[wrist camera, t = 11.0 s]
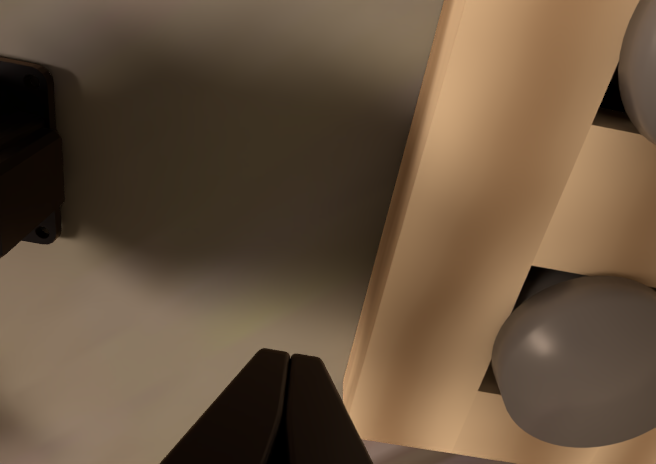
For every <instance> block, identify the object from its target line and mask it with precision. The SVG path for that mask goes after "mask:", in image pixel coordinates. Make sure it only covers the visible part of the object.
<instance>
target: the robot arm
mask: <svg viewBox="0 0 656 464" xmlns="http://www.w3.org/2000/svg"><path fill="white" fill-rule="evenodd" d="M30 74H32V75H34V76H36V78H37V79H38V80H39V83H40V85H39V88H38V87H36V86H34V85H33V84H32V83H31V80H30ZM64 201H65V195H64V174H63V153H62V138H61V136H60V135H59V133H58V132H57V131H56V121H55V102H54V83H53V79H52V76H51V74H50V73H49V71H48V70H47V69H46V68H44V67H43V66H41V65H38V64H34V63H29V62H24V61H18V60H13V59H8V58H3V57H0V258H1V257H3V256H4V255H5V254H7V253H8V252H9V251H10V250H11V249H12V248H13V247H14V246H16V245H17V244H18V243H19V242H20V241H27V242H33V243H39V244H50V243H53V242H54V241H55V240H56V239H57V238H58V237H59V235H60V234H61V215H60V205H62V204H63V203H64ZM41 226H42V227H45V228H46V229H47V230H48V231H49V234H48V233H45V232H44V231H43V230H42V229H41ZM160 464H373V462H372V460H371V458H370V456H369V454H368V452H367V450H366V448H365V446H364V444H363V442H362V440H361V438H360V436H359V434H358V432H357V430H356V428H355V426H354V424H353V422H352V420H351V418H350V416H349V414H348V412H347V410H346V407H345V405H344V403H343V401H342V399H341V397H340V395H339V393H338V391H337V389H336V387H335V385H334V383H333V381H332V379H331V377H330V375H329V373H328V371H327V369H326V367H325V365H324V363H323V361H322V360H321V359H320V358H318V357H315V356H309V355H303V354H293V355H292V356H291V358H290V355H289V353H287V352H285V351H279V350H273V349H267V348H263V349H260V350H259V351H258V352H257V353H256V354H255V355H254V356H253V358H252V359H251V360H250V361H249V362H248V363H247V364H246V366H245V367H244V368H243V369H242V370H241V371H240V372H239V374H238V375H237V376H236V377H235V378H234V379H233V380H232V381H231V383H230V384H229V385H228V386H227V387H226V388H225V389H224V391H223V392H222V393H221V394H220V395H219V396H218V397H217V399H216V400H215V401H214V402H213V403H212V404H211V405H210V407H209V408H208V409H207V410H206V411H205V412H204V413H203V415H202V416H201V417H200V418H199V419H198V420H197V421H196V423H195V424H194V425H193V426H192V427H191V428H190V429H189V431H188V432H187V433H186V434H185V435H184V436H183V437H182V439H181V440H180V441H179V442H178V443H177V444H176V445H175V447H174V448H173V449H172V450H171V451H170V452H169V453H168V455H167V456H166V457H165V458H164V459H163V460H162V461H161V463H160Z"/></svg>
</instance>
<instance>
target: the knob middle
mask: <svg viewBox="0 0 656 464" xmlns="http://www.w3.org/2000/svg"><path fill="white" fill-rule="evenodd" d="M611 82H612V83H613V84H614V85H615V86H616V87H617V88H618V89H619V90H620V95H621V99H622V102H623V105H624V108H625V111H626V113H627V115H628V117H629V118H630V120H631V122H632V124H633V125H634V126H635V127H636V129H637V130H638V131H639V132H640V133H641V134H642V135H643V136H644V137H645V138H646V139H647V140H648V141H650V142H651V143H653V144H654V145H656V0H640V1H639V3H638V4H637V6H636V8H635V10H634V12H633V14H632V17H631V19H630V21H629V23H628V26H627V29H626V32H625V35H624V38H623V42H622V46H621V50H620V56H619V62H618V64H617V66H616V69H615V71H614V73H613V76H612V78H611Z"/></svg>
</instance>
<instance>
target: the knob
mask: <svg viewBox="0 0 656 464" xmlns="http://www.w3.org/2000/svg"><path fill="white" fill-rule="evenodd" d="M492 368H493V373H494V376H495V379H496V382H497V384H498V387H499V390H500V393H501V396H502V399H503V402H504V404H505V407H506V410H507V412H508V413H509V415H510V417H511V418H512V420H513V421H514V422H515V423H516V424H517V425H518V426H519V427H520V428H521V429H522V430H524V431H525V432H526V433H528V434H530V435H531V436H533V437H535V438H537V439H539V440H541V441H544V442H547V443H550V444H554V445H559V446H564V447H573V448H591V447H601V446H607V445H612V444H616V443H620V442H624V441H627V440H630V439H633V438H635V437H638V436H640V435H642V434H644V433H646V432H648V431H650V430H652V429H654V428H656V291H654V290H653V289H651V288H650V287H648V286H646V285H644V284H642V283H640V282H637V281H634V280H631V279H627V278H623V277H616V276H587V275H582V274H576V273H571V272H565V271H560V270H554V269H548V268H543V267H537V266H532V265H531V268H530V270H529V272H528V275H527V277H526V279H525V282H524V284H523V286H522V289H521V291H520V293H519V296H518V298H517V300H516V303H515V305H514V307H513V310H512V312H511V314H510V316H509V317H508V318H507V319H506V321H505V322H504V324H503V325H502V327H501V328H500V330H499V332H498V334H497V336H496V339H495V342H494V345H493V350H492Z"/></svg>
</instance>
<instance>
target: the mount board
mask: <svg viewBox="0 0 656 464" xmlns="http://www.w3.org/2000/svg"><path fill="white" fill-rule="evenodd" d="M639 1H640V0H444V3H443V7H442V11H441V14H440V18H439V22H438V26H437V29H436V33H435V37H434V41H433V44H432V48H431V52H430V56H429V59H428V63H427V67H426V71H425V75H424V78H423V82H422V86H421V90H420V93H419V97H418V101H417V105H416V108H415V112H414V116H413V120H412V123H411V127H410V131H409V135H408V139H407V142H406V146H405V150H404V154H403V157H402V161H401V165H400V169H399V172H398V176H397V180H396V184H395V187H394V191H393V195H392V199H391V203H390V206H389V210H388V214H387V218H386V221H385V225H384V229H383V233H382V236H381V240H380V244H379V248H378V252H377V255H376V259H375V263H374V267H373V270H372V274H371V278H370V282H369V285H368V289H367V293H366V297H365V300H364V304H363V308H362V312H361V316H360V319H359V323H358V327H357V331H356V334H355V338H354V342H353V346H352V349H351V353H350V357H349V361H348V364H347V368H346V372H345V376H344V380H343V403H344V405H345V407H346V410H347V412H348V414H349V416H350V418H351V420H352V422H353V424H354V426H355V428H356V430H357V432H358V434H359V436H360V438H361V439H364V440H370V441H377V442H383V443H390V444H396V445H402V446H409V447H415V448H422V449H428V450H434V451H441V452H447V453H454V454H460V455H466V456H473V457H479V458H486V459H492V460H498V461H505V462H511V463H518V464H656V428H654V429H652V430H650V431H648V432H646V433H644V434H642V435H640V436H638V437H635V438H633V439H630V440H627V441H624V442H620V443H616V444H612V445H607V446H601V447H591V448H573V447H564V446H559V445H554V444H550V443H547V442H544V441H541V440H539V439H537V438H535V437H533V436H531V435H530V434H528V433H526V432H525V431H524V430H522V429H521V428H520V427H519V426H518V425H517V424H516V423H515V422H514V421H513V420H512V418H511V417H510V415H509V413H508V412H507V410H506V407H505V404H504V402H503V399H502V396H501V393H500V390H499V387H498V384H497V382H496V379H495V376H494V373H493V368H492V350H493V345H494V342H495V339H496V336H497V334H498V332H499V330H500V328H501V327H502V325H503V324H504V322H505V321H506V319H507V318H508V317H509V316H510V314H511V312H512V310H513V307H514V305H515V303H516V300H517V298H518V296H519V293H520V291H521V289H522V286H523V284H524V282H525V279H526V277H527V275H528V272H529V270H530V268H531V265H532V266H537V267H543V268H548V269H554V270H560V271H565V272H571V273H576V274H582V275H587V276H616V277H623V278H627V279H631V280H634V281H637V282H640V283H642V284H644V285H646V286H648V287H650V288H651V289H653V290H654V291H656V145H654V144H653V143H651V142H650V141H648V140H647V139H646V138H645V137H644V136H643V135H642V134H641V133H640V132H639V131H638V130H637V129H636V127H635V126H634V125H633V124H632V122H631V120H630V118H629V117H628V115H627V113H625V112H620V111H615V110H610V109H605V108H600V107H599V106H600V104H601V101H602V99H603V97H604V94H605V92H606V90H607V87H608V85H609V83H610V80H611V78H612V76H613V73H614V71H615V69H616V66H617V64H618V62H619V56H620V50H621V46H622V42H623V38H624V35H625V32H626V29H627V26H628V23H629V21H630V19H631V17H632V14H633V12H634V10H635V8H636V6H637V4H638V3H639Z"/></svg>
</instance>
